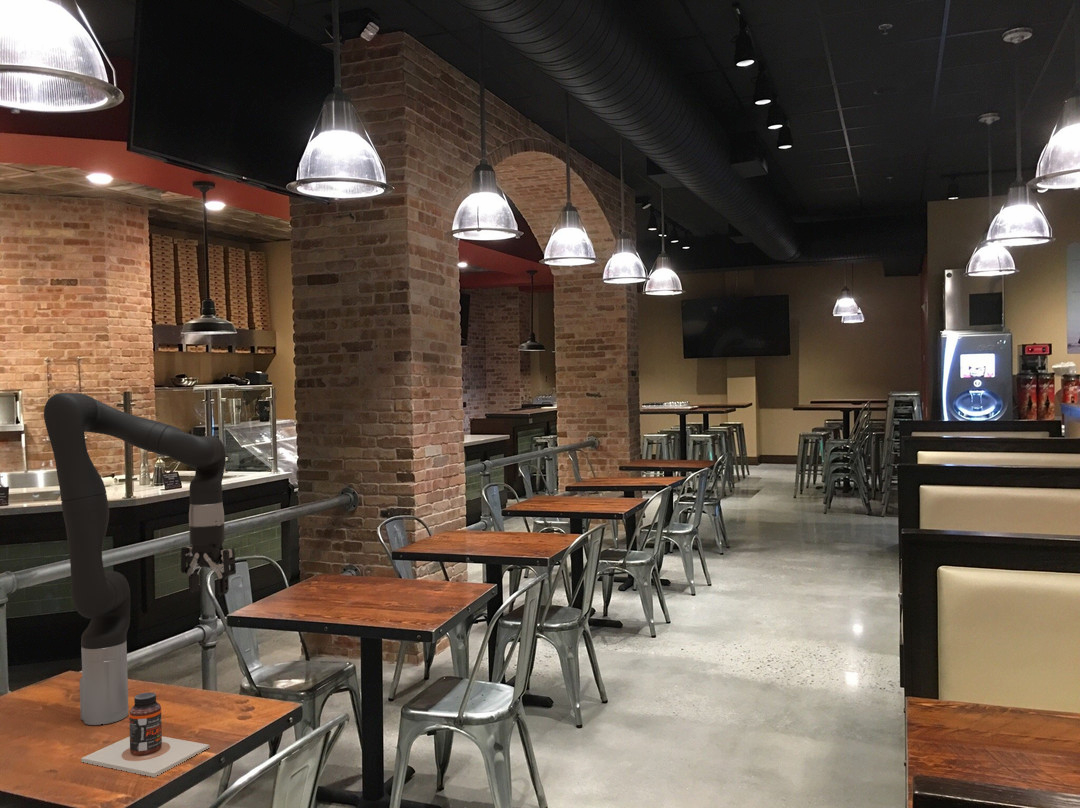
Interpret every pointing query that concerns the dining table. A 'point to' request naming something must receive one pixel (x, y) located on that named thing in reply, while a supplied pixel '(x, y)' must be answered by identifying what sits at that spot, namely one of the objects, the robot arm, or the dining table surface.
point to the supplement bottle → (145, 725)
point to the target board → (145, 756)
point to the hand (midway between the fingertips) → (208, 592)
